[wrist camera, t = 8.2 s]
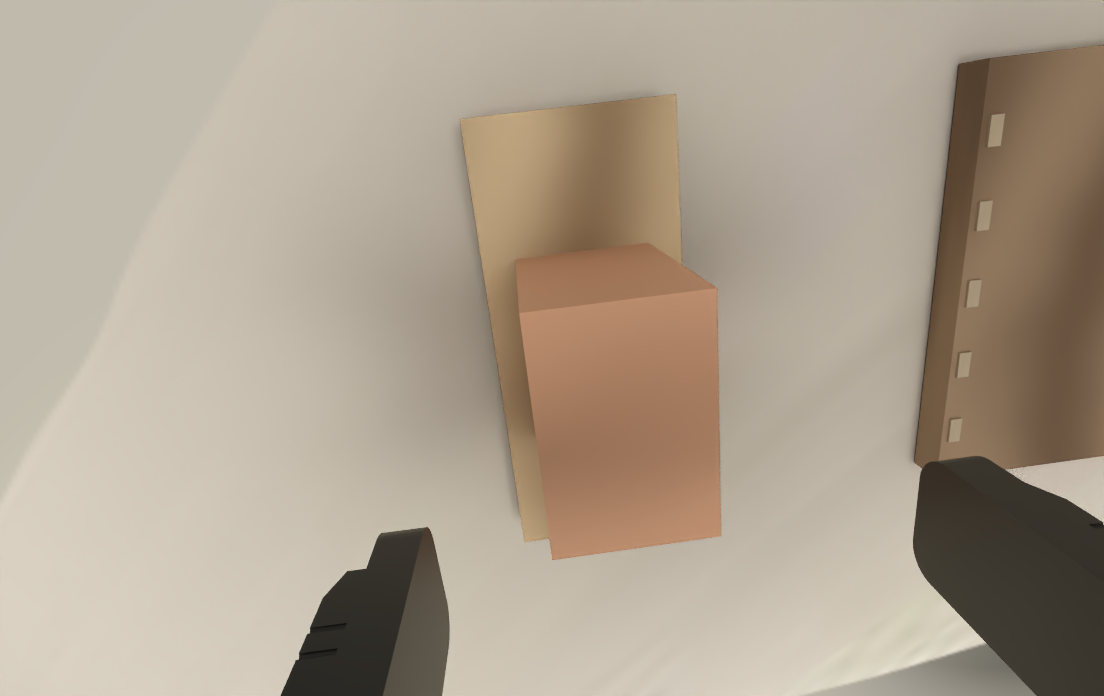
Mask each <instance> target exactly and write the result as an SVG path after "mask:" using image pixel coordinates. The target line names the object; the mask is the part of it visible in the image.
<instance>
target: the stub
mask: <svg viewBox="0 0 1104 696" xmlns="http://www.w3.org/2000/svg"><path fill="white" fill-rule="evenodd" d="M460 125H461V131H462V138H463V144H464V151H465V157H466V164H467V170H468V177H469V183H470V190H471V196H472V203H473V209H474V216H475V222H476V229H477V235H478V242H479V248H480V255H481V262H482V268H483V275H484V281H485V288H486V294H487V301H488V307H489V314H490V320H491V327H492V333H493V340H494V346H495V353H496V359H497V366H498V372H499V379H500V386H501V392H502V399H503V405H504V412H505V418H506V425H507V431H508V438H509V444H510V451H511V457H512V464H513V470H514V477H515V483H516V490H517V496H518V503H519V509H520V516H521V523H522V529H523V536H524V542H529V541H537V540H544V539H550V546H551V553H552V560H556V559H563V558H570V557H577V556H584V555H591V554H599V553H606V552H613V551H620V550H627V549H634V548H641V547H648V546H655V545H662V544H669V543H676V542H683V541H690V540H698V539H705V538H712V537H719V536H721V497H720V435H719V374H718V312H717V288H716V287H715V286H713V285H712V284H710V283H709V282H707V281H706V280H704V279H702V278H701V277H699V276H698V275H696V274H695V273H693V272H692V271H690V270H689V269H687V268H686V267H684V266H683V265H682V248H681V221H680V193H679V166H678V139H677V111H676V94H671V95H663V96H654V97H646V98H637V99H628V100H620V101H611V102H603V103H594V104H585V105H577V106H568V107H559V108H551V109H542V110H534V111H525V112H516V113H508V114H499V115H491V116H482V117H473V118H465V119H460Z"/></svg>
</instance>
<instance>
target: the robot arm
mask: <svg viewBox="0 0 1104 696" xmlns="http://www.w3.org/2000/svg"><path fill="white" fill-rule="evenodd" d="M913 549H914V554H915V558H916V561H917V563H918V566H919V568H920V570H921V572H922V574H923V575H924V577H925V578H926V580H927V581H928V582H929V583H930V584H931V585H932V586H933V587H934V588H935V590H936V591H937V592H938V593H939V594H940V595H941V596H942V597H943V598H944V599H945V600H946V601H947V602H948V603H949V604H950V605H951V606H952V607H953V608H954V609H955V611H956V612H957V613H958V614H959V615H960V616H961V617H962V618H963V619H964V620H965V621H966V622H967V623H968V624H969V625H970V626H971V627H972V628H973V629H974V630H975V631H976V633H977V634H978V635H979V636H980V637H981V638H982V639H983V640H984V641H985V642H986V643H987V644H988V645H989V646H990V647H991V648H992V649H993V650H994V651H995V652H996V653H997V654H998V656H999V657H1000V658H1001V659H1002V660H1003V661H1004V662H1005V663H1006V664H1007V665H1008V666H1009V667H1010V668H1011V669H1012V670H1013V671H1014V672H1015V673H1016V674H1017V676H1018V677H1019V678H1020V679H1021V680H1022V681H1023V682H1024V683H1025V684H1026V685H1027V686H1028V687H1029V688H1030V689H1031V690H1032V691H1033V692H1034V693H1035V694H1036V695H1037V696H1104V525H1103V522H1102V521H1100V520H1098V519H1097V518H1095V517H1094V516H1092V515H1090V514H1089V513H1087V512H1086V511H1084V510H1083V509H1081V508H1079V507H1078V506H1076V505H1075V504H1073V503H1072V502H1070V501H1068V500H1067V499H1064V498H1062V497H1059V496H1057V495H1054V494H1052V493H1049V492H1047V491H1044V490H1042V489H1039V488H1037V487H1034V486H1032V485H1029V484H1027V483H1024V482H1023V481H1021V480H1020V479H1018V478H1017V477H1015V476H1014V475H1012V474H1011V473H1009V472H1007V471H1006V470H1004V469H1003V468H1001V467H1000V466H998V465H997V464H995V463H994V462H992V461H991V460H989V459H987V458H985V457H982V456H970V457H963V458H955V459H948V460H940V461H933V462H929V463H927V464H926V465H924V467H923V468H922V471H921V475H920V482H919V491H918V500H917V509H916V518H915V527H914V536H913ZM448 648H449V612H448V605H447V600H446V595H445V591H444V586H443V582H442V577H441V573H440V568H439V563H438V559H437V554H436V550H435V545H434V541H433V537H432V534H431V531H430V529H429V528H428V527H425V528H418V529H410V530H403V531H395V532H388V533H381V534H380V535H379V536H378V538H377V541H376V544H375V546H374V549H373V552H372V555H371V557H370V560H369V563H368V566H367V569H361V570H354V571H347V572H346V573H345V574H344V575H343V577H342V578H341V579H340V580H339V581H338V582H337V583H336V584H335V585H334V586H333V588H332V589H331V590H330V591H329V592H328V593H327V594H326V595H325V596H324V597H323V599H322V601H321V604H320V606H319V608H318V611H317V613H316V615H315V618H314V620H313V622H312V625H311V627H310V634H307V636H306V638H305V641H304V643H303V645H302V648H301V650H300V652H299V660H296V661H295V664H294V666H293V668H292V671H291V673H290V675H289V678H288V680H287V682H286V685H285V687H284V689H283V691H282V694H281V696H442V692H443V684H444V677H445V670H446V663H447V655H448Z"/></svg>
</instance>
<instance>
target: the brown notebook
mask: <svg viewBox="0 0 1104 696" xmlns="http://www.w3.org/2000/svg"><path fill="white" fill-rule="evenodd" d="M970 456H982V457H985V458H987V459H989V460H991V461H992V462H994V463H995V464H997V465H998V466H1000V467H1001V468H1003V469H1004V470H1006V469H1013V468H1020V467H1027V466H1034V465H1041V464H1048V463H1056V462H1063V461H1070V460H1077V459H1084V458H1091V457H1098V456H1104V45H1099V46H1090V47H1082V48H1073V49H1065V50H1056V51H1047V52H1039V53H1030V54H1021V55H1013V56H1004V57H996V58H988V59H983V60H978V61H973V62H967V63H962V64H959V70H958V79H957V88H956V96H955V105H954V114H953V123H952V132H951V141H950V150H949V159H948V168H947V177H946V186H945V195H944V203H943V212H942V221H941V230H940V239H939V248H938V257H937V266H936V275H935V284H934V293H933V302H932V311H931V319H930V328H929V337H928V346H927V355H926V364H925V373H924V382H923V391H922V400H921V409H920V418H919V426H918V435H917V444H916V453H915V463H916V464H917V465H918V466H920V467H921V468H923V467H924V465H926V464H927V463H929V462H933V461H940V460H948V459H955V458H963V457H970Z"/></svg>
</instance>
